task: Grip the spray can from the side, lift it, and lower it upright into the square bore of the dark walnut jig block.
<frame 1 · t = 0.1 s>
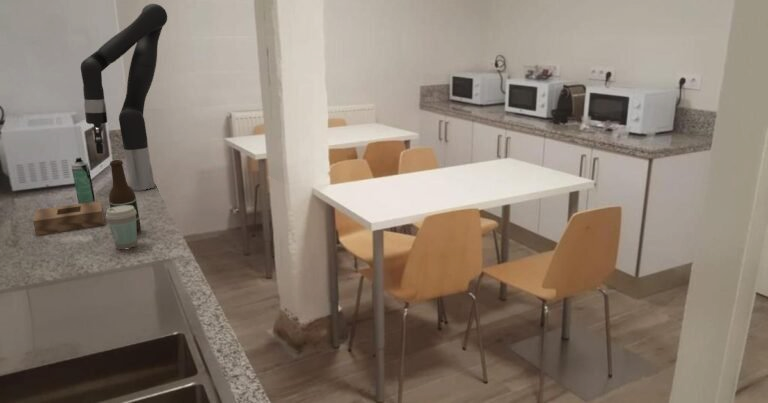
hand: (100, 151, 225), 17 cm above the worktop, tool pointing down, fingers open, 8 cm apart
coffee cup: (127, 246, 171), on the worktop
jig: (71, 224, 193), on the worktop
beer bottle: (128, 233, 183), on the worktop
spray can: (88, 211, 207), on the worktop
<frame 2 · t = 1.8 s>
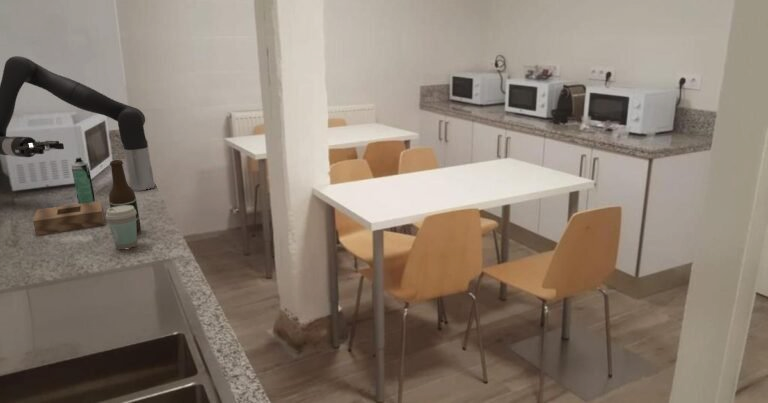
hand: (53, 148, 204), 23 cm above the worktop, tool horizontal, fingers open, 8 cm apart
nothing on the worktop moved.
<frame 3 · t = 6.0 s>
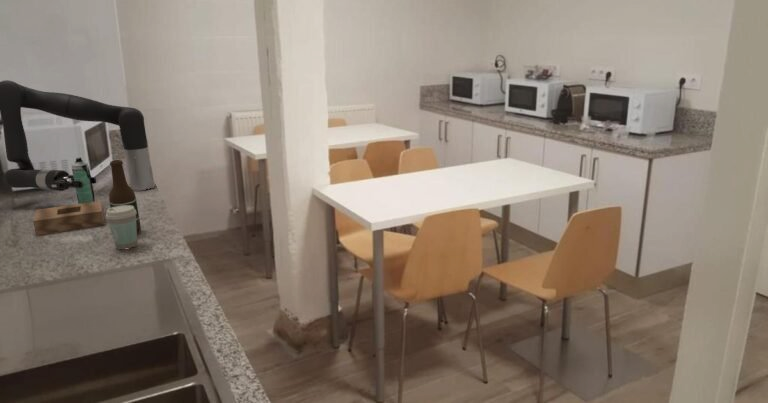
hand: (88, 182, 203), 11 cm above the worktop, tool horizontal, fingers closed on spray can, 5 cm apart
spray can: (88, 211, 207), on the worktop, touching gripper
everything else where it was.
when the fingers open (12 cm above the worktop, at t = 12.3 s): spray can drops 1 cm, resting in jig.
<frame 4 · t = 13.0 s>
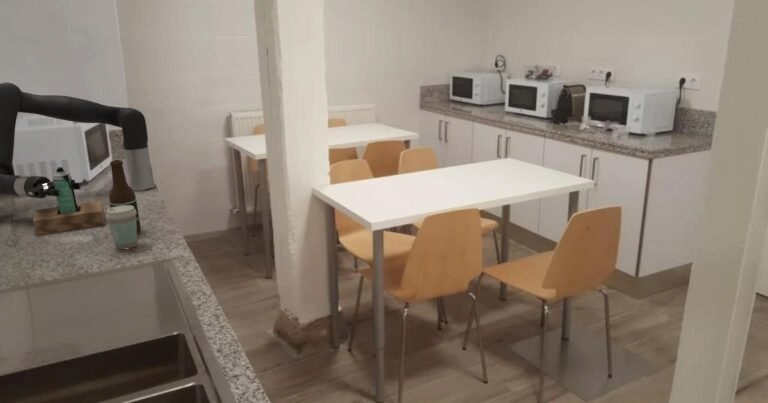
hand: (69, 189, 189), 13 cm above the worktop, tool horizontal, fingers open, 8 cm apart
spray can: (71, 224, 193), resting in jig
everything else where it was.
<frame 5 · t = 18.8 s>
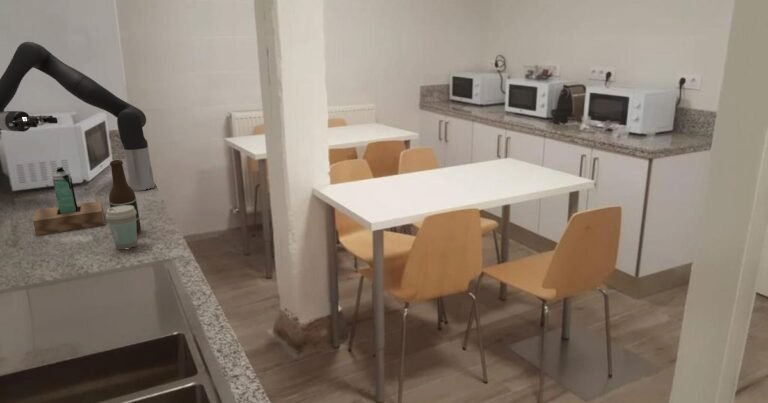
hand: (46, 122, 205), 32 cm above the worktop, tool horizontal, fingers open, 8 cm apart
nothing on the worktop moved.
at the end: spray can 0.2 cm off-centre on the jig, point 0.0 cm above the jig's base; spray can tilted 0°; the gripper is holding nothing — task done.
